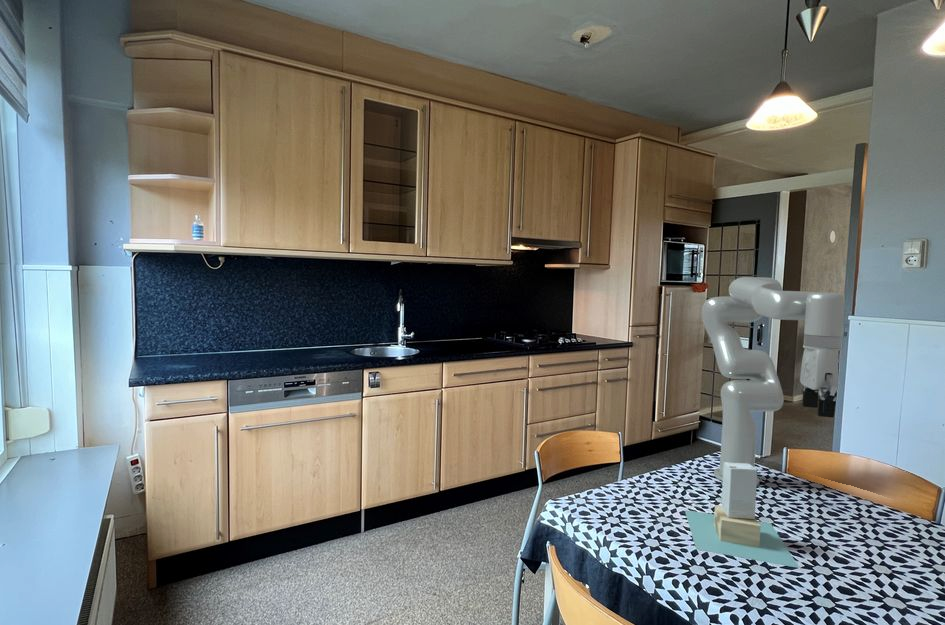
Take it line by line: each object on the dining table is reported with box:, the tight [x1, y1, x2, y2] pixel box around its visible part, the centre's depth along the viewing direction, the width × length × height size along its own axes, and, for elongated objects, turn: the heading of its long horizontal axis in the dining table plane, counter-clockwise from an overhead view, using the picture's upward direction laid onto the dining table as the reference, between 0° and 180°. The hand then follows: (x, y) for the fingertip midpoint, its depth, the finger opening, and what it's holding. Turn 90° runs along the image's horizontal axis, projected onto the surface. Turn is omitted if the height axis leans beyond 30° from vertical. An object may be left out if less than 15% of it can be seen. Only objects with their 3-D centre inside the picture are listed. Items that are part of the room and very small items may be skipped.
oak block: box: [714, 504, 761, 547], centre depth 112 cm, size 8×8×5 cm
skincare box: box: [721, 462, 758, 519], centre depth 111 cm, size 6×4×12 cm
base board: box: [684, 509, 800, 569], centre depth 112 cm, size 20×20×1 cm
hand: (817, 411), depth 116 cm, fingers open, 9 cm apart
